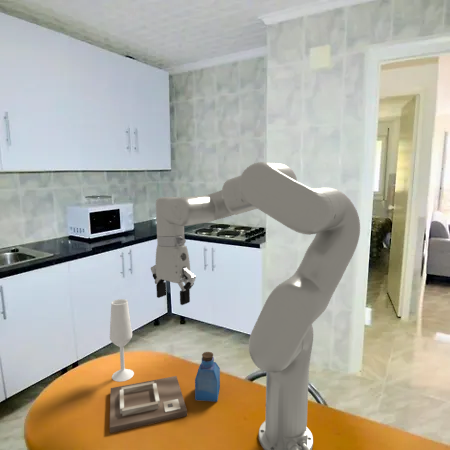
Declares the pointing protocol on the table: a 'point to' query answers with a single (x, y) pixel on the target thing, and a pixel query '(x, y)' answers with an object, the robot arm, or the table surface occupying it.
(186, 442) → the table surface
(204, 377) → the perfume bottle
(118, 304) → the champagne flute
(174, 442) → the table surface
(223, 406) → the table surface
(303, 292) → the robot arm
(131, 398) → the board
